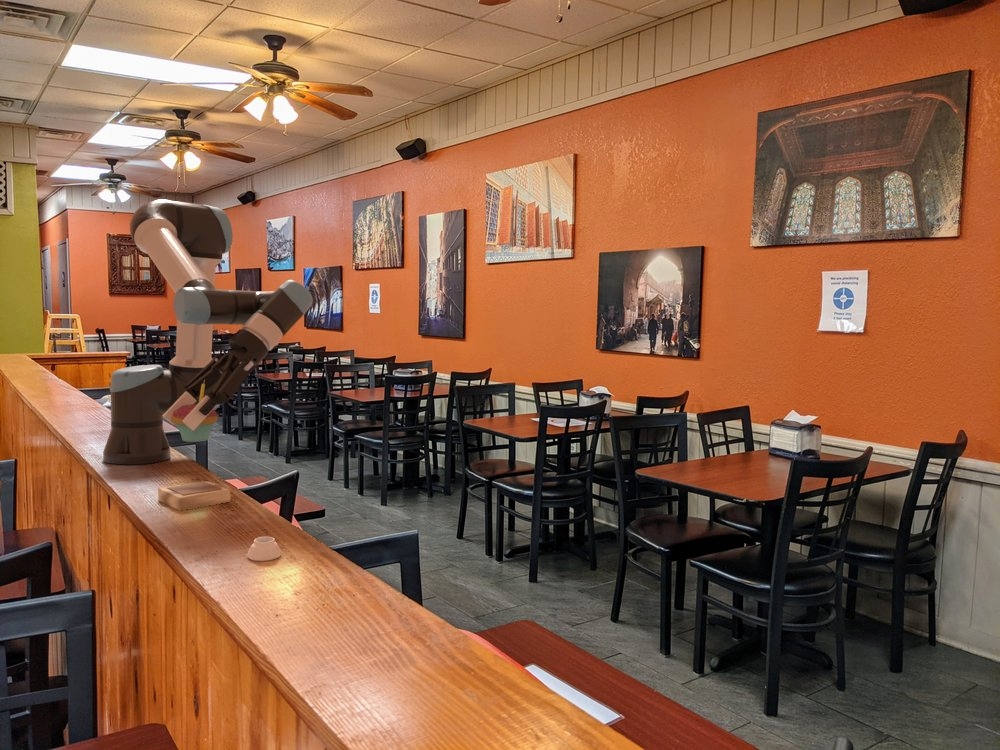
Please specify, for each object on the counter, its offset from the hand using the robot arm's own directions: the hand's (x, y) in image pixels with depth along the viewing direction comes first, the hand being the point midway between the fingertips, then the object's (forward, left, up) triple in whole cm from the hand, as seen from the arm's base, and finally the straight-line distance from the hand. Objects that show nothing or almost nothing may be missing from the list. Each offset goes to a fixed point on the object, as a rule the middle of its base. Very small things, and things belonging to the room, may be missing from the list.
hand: (177, 422), depth 140 cm
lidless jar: (+39, -3, -16) cm, 42 cm away
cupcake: (0, +3, -4) cm, 5 cm away
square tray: (0, +3, -16) cm, 16 cm away
